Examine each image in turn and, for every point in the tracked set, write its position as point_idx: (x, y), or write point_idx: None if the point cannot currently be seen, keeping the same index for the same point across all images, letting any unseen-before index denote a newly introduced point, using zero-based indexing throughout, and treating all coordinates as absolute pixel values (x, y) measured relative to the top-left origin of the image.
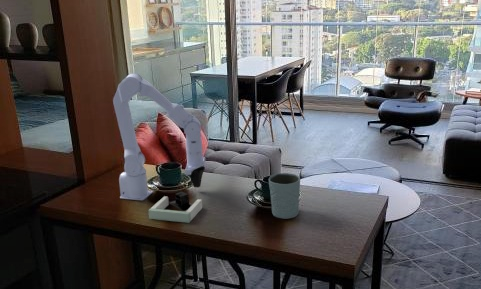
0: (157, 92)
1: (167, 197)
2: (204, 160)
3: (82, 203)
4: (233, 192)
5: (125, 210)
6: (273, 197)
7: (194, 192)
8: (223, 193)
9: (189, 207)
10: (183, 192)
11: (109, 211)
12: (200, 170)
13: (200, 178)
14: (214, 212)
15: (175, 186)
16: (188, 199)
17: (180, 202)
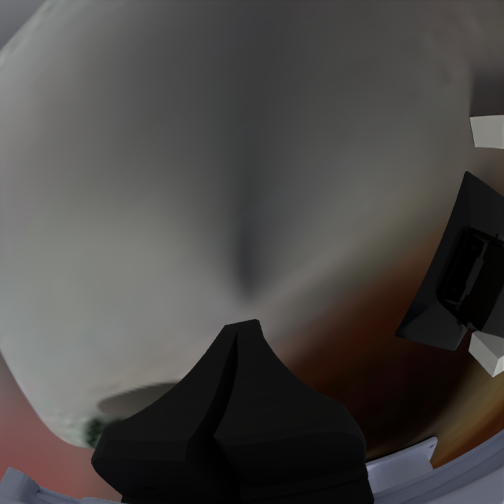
0: None
1: (502, 354)
2: (14, 488)
3: None
4: (125, 44)
5: (499, 407)
6: None
7: (268, 328)
8: (174, 94)
9: (490, 200)
10: (495, 308)
11: (497, 427)
12: (275, 454)
13: (224, 368)
14: (471, 27)
15: None
16: (497, 234)
17: (470, 287)
